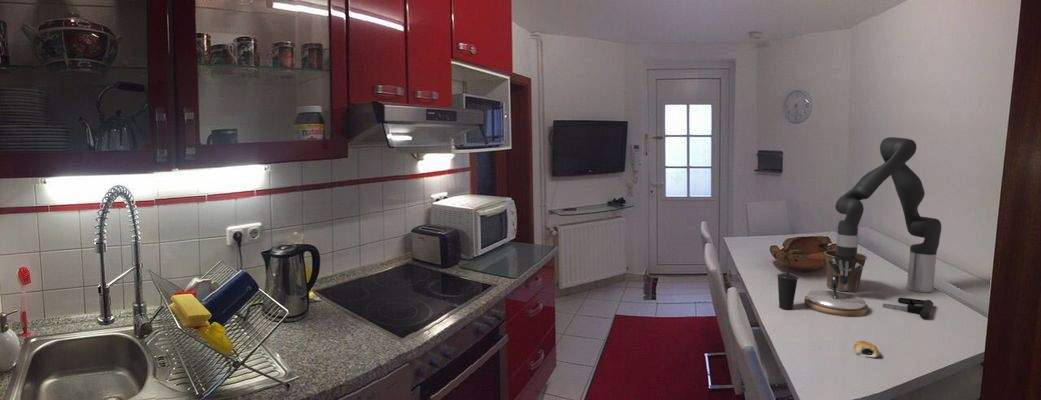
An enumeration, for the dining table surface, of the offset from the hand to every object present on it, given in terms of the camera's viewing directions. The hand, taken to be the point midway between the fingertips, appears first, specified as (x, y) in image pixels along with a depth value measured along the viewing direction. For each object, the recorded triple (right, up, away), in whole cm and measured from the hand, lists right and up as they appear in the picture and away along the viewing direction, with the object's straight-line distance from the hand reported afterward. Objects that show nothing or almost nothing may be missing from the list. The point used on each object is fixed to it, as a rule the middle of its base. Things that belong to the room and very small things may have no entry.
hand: (844, 283), depth 208 cm
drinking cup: (-31, -9, -10) cm, 33 cm away
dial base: (-10, -8, -9) cm, 16 cm away
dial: (-9, -5, -7) cm, 12 cm away
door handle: (+17, -9, -13) cm, 23 cm away
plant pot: (+9, -5, +14) cm, 17 cm away
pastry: (-27, -14, -51) cm, 59 cm away
